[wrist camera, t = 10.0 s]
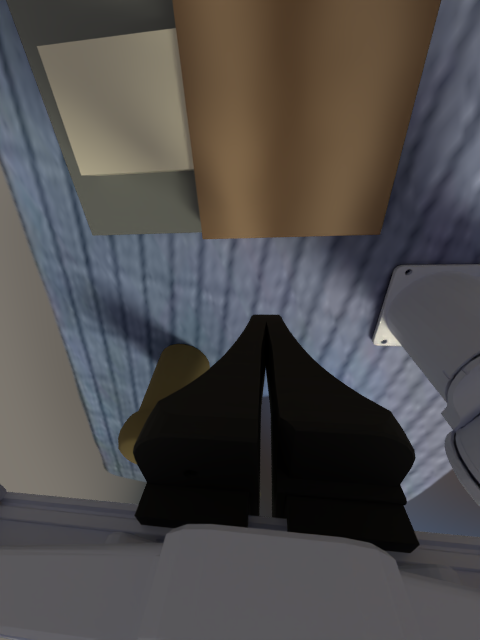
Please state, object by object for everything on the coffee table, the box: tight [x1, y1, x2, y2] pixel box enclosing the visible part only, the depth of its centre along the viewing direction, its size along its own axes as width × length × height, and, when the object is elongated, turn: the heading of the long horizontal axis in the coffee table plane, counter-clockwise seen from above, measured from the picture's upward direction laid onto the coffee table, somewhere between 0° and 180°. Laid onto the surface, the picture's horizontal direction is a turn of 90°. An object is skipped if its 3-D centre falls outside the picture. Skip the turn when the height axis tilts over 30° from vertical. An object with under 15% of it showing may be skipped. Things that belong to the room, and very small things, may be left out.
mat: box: [6, 0, 202, 235], centre depth 16 cm, size 10×14×1 cm
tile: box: [37, 28, 194, 176], centre depth 15 cm, size 8×6×2 cm
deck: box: [172, 0, 441, 239], centre depth 13 cm, size 12×14×3 cm
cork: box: [118, 344, 210, 464], centre depth 23 cm, size 6×6×11 cm
